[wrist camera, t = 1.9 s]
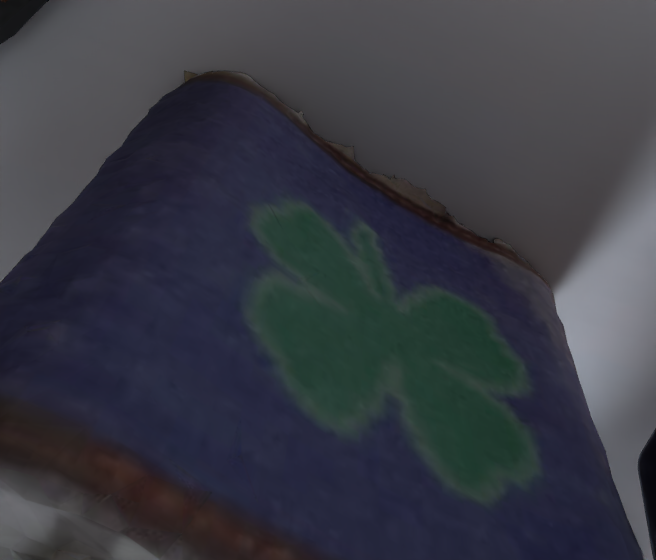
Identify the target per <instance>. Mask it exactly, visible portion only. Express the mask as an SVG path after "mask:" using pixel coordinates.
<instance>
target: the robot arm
mask: <svg viewBox="0 0 656 560" xmlns="http://www.w3.org/2000/svg"><path fill="white" fill-rule="evenodd" d="M638 474H639V480H640V486H641V491H642V497H643V503H644V508H645V514H646V520H647V526H648V531H649V537H650V543H651V548H652V554H653V559H654V560H656V428H655V430H654V432H653V433H652V435H651V437H650V438H649V440H648V441H647V443H646V445H645V446H644V448H643V450H642V451H641V453H640V455H639V459H638Z"/></svg>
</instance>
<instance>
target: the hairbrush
mask: <svg viewBox="0 0 656 560" xmlns="http://www.w3.org/2000/svg"><path fill="white" fill-rule="evenodd" d="M48 1H49V0H0V44H1V43H3V42H5V41H6V40H8V39H9V38H11V37H12V36H14V35H15V34H16V33H17V32H18V31H19V30H20V29H21V28H22V27H23V26H24V25H25V24H26V23H27V22H28V21H29V20H30V19H31V18H32V17H33V16H34V14H35V13H36V12H37V11H38V10H39V9H40V8H41V7H42V6H43V5H44V4H45V3H46V2H48Z"/></svg>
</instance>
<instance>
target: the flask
mask: <svg viewBox="0 0 656 560" xmlns="http://www.w3.org/2000/svg"><path fill="white" fill-rule="evenodd" d="M212 72H213V71H211V72H207V73H204V74H201V75H198V74H194V73H191V72H187V71H184V78H185V83H184V84H182V85H181V86H180V87H178V88H177V89H175V90H174V91H172V92H170V93H168V94H166V95H165V96H163V97H162V98H161V99H160V100H159V102H158V103H157V104H156V105H154V106H153V107H152V108H151V109H149V112H148V115H147V116H146V117H145V118H144V119H143V120H142V121H141V122H140V123H139V124H138V125H137V126H136V127H135V128H134V129H133V130H132V131H131V132H130V134H129V135H128V137H127V138H126V140H125V142H124V143H123V145H122V146H121V147H120V148H119V149H118V150H116V151H115V152H114V153H112V154H111V155H110V156H109V157H107V158H106V160H105V162H104V163H103V165H102V166H101V168H100V170H99V172H98V174H97V175H96V176H95V178H94V179H93V180H92V181H91V182H90V183H89V184H88V185H87V186H86V187H85V189H84V190H83V191H82V192H81V193H80V195H79V196H78V197H77V198H76V200H75V201H74V202H73V203H72V204H71V205H70V206H69V207H68V208H67V209H66V210H65V211H64V212H63V213H61V214H60V215H59V216H58V217H57V218H56V219H55V220H54V222H53V223H52V225H51V226H50V227H49V229H48V230H47V232H46V233H45V234H44V235H43V237H42V238H41V239H40V240H39V242H38V243H37V245H36V246H35V247H34V248H33V250H32V251H30V252H29V253H27V254H26V255H25V256H24V257H23V258H22V259H21V261H20V262H19V263H18V264H17V266H15V267H14V268H13V269H12V270H11V272H10V273H9V274H8V275H7V276H6V277H5V278H4V280H3V281H2V282H1V283H0V560H644V559H643V555H642V552H641V549H640V547H639V545H638V542H637V540H636V538H635V535H634V533H633V531H632V528H631V526H630V524H629V521H628V519H627V517H626V514H625V511H624V508H623V505H622V503H621V500H620V497H619V494H618V492H617V489H616V486H615V484H614V481H613V479H612V476H611V471H610V467H609V463H608V459H607V455H606V451H605V449H604V446H603V444H602V442H601V439H600V437H599V435H598V432H597V430H596V428H595V425H594V423H593V421H592V418H591V416H590V412H589V409H588V406H587V403H586V399H585V396H584V393H583V390H582V387H581V384H580V381H579V378H578V375H577V371H576V368H575V365H574V361H573V358H572V355H571V352H570V349H569V346H568V344H567V340H566V335H565V331H564V326H563V324H562V322H561V320H560V318H559V316H558V315H557V311H556V306H555V301H554V296H553V293H552V291H551V290H550V288H549V285H548V282H547V281H545V280H544V279H543V278H542V277H541V275H540V274H539V273H537V272H536V271H535V270H534V269H533V268H532V267H531V266H530V264H529V263H528V262H527V261H526V260H524V259H523V258H522V257H520V256H519V255H518V254H517V253H516V251H514V250H513V249H512V247H511V246H510V244H506V243H503V241H502V240H500V239H498V238H496V239H495V240H494V243H491V242H488V241H487V239H484V238H481V237H478V236H477V235H476V234H475V233H474V232H472V231H471V230H469V229H467V228H466V227H465V226H464V225H463V224H458V223H457V221H456V220H455V218H454V216H449V214H448V213H445V212H446V207H445V206H443V205H442V204H440V203H439V202H437V201H435V200H433V199H431V198H430V197H429V196H428V195H427V192H426V189H421V188H417V187H414V186H412V185H411V184H410V183H409V182H408V181H407V180H406V179H399V178H395V176H394V175H393V176H392V177H391V178H390V179H389V178H388V177H387V176H386V175H384V174H383V175H379V174H376V173H371V174H370V173H369V172H368V171H367V170H366V169H363V168H362V167H361V166H360V165H359V164H358V163H357V162H356V161H354V146H350V147H344V146H343V145H341V144H335V143H331V142H326V141H325V140H324V139H322V138H321V137H319V136H318V135H316V134H315V133H313V131H312V130H311V128H310V127H309V125H308V124H307V123H306V121H305V120H304V119H303V118H302V117H303V113H302V111H300V112H299V113H297V112H295V111H294V110H293V109H291V108H289V107H288V106H287V105H285V104H283V103H282V102H281V101H280V100H279V99H278V98H277V97H276V96H275V95H274V94H273V93H271V92H269V91H267V90H266V89H264V88H263V87H261V86H260V85H258V84H257V83H256V82H255V81H253V79H252V78H251V77H249V76H248V75H247V74H245V73H241V72H230V71H217V72H213V73H212Z"/></svg>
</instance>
